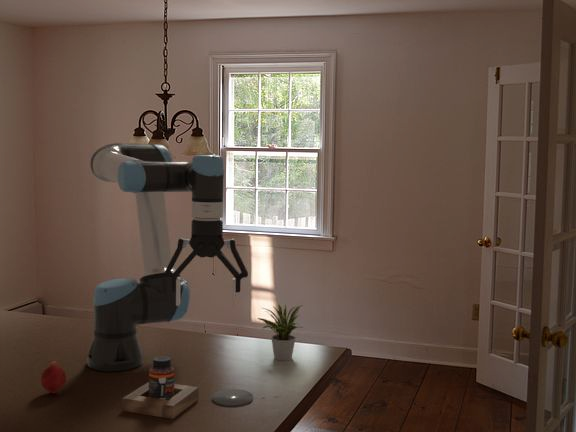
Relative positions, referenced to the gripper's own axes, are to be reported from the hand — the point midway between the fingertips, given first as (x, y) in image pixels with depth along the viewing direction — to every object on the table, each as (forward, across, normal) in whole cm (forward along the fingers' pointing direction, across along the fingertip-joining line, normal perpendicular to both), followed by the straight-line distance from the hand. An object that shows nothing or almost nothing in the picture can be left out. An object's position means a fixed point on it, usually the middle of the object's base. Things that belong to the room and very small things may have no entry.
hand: (206, 305), depth 167 cm
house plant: (+23, +21, +31) cm, 44 cm away
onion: (+23, -37, 0) cm, 43 cm away
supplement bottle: (+23, -10, -8) cm, 26 cm away
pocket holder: (+22, -10, -8) cm, 26 cm away
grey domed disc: (+22, +7, -3) cm, 24 cm away
